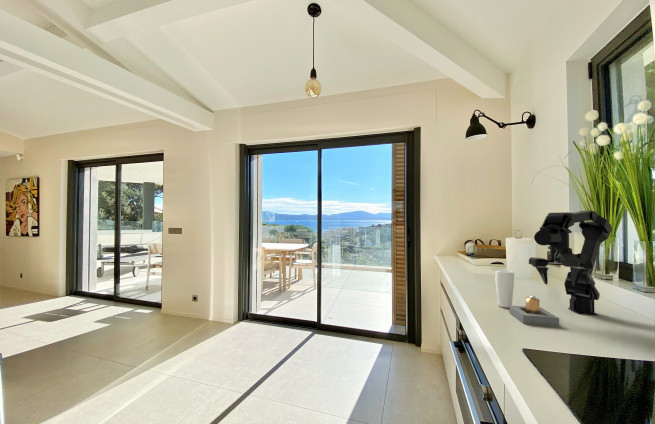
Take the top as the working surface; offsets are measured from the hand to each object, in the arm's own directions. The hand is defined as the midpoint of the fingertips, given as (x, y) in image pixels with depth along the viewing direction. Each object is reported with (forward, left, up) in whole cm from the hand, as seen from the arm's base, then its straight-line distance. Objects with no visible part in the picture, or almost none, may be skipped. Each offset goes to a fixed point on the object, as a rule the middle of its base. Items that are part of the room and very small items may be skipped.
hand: (559, 285), depth 103 cm
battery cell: (+12, +6, -12) cm, 18 cm away
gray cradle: (+12, +6, -12) cm, 18 cm away
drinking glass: (+16, -8, -12) cm, 22 cm away
